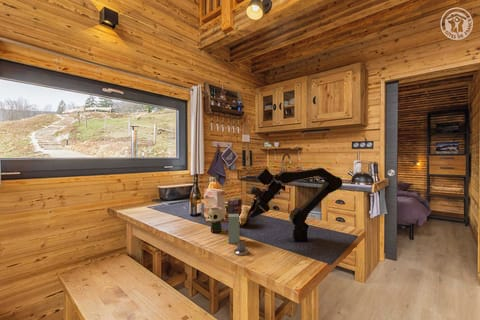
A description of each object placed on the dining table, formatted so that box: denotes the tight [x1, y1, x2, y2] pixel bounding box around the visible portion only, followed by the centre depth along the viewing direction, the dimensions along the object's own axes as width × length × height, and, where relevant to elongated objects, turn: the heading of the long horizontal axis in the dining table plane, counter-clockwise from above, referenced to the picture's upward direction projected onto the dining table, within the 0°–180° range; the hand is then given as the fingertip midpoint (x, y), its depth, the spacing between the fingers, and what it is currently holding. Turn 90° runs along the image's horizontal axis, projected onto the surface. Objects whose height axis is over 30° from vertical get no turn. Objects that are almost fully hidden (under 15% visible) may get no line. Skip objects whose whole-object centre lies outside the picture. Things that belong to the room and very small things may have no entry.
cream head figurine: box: [208, 207, 225, 234], centre depth 125 cm, size 11×7×13 cm, turn 61°
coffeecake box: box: [203, 187, 226, 218], centre depth 152 cm, size 15×7×20 cm, turn 45°
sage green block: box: [227, 213, 241, 245], centre depth 111 cm, size 5×5×13 cm
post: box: [233, 240, 249, 256], centre depth 99 cm, size 6×6×4 cm
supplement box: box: [227, 197, 243, 226], centre depth 136 cm, size 9×5×16 cm, turn 143°
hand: (249, 214), depth 111 cm, fingers open, 9 cm apart
